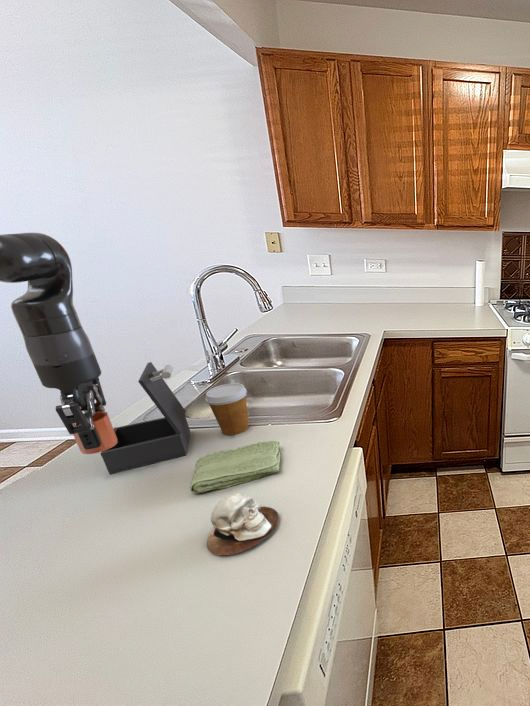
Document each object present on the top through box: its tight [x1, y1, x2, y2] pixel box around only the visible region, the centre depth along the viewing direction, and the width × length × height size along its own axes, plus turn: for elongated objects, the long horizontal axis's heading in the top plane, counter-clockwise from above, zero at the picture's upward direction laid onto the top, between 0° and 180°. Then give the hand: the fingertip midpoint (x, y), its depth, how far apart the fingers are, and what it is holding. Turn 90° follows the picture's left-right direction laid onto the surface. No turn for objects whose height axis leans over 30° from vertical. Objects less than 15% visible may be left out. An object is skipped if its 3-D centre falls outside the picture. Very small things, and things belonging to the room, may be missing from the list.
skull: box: [205, 492, 280, 556], centre depth 74 cm, size 12×10×10 cm
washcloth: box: [189, 440, 281, 494], centre depth 92 cm, size 13×18×3 cm
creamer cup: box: [72, 411, 118, 455], centre depth 73 cm, size 5×5×6 cm
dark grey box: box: [100, 415, 191, 475], centre depth 98 cm, size 15×13×6 cm
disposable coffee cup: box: [204, 382, 250, 436], centre depth 107 cm, size 10×10×12 cm
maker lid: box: [138, 361, 186, 434], centre depth 97 cm, size 15×13×5 cm
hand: (98, 439), depth 74 cm, fingers closed on creamer cup, 5 cm apart
